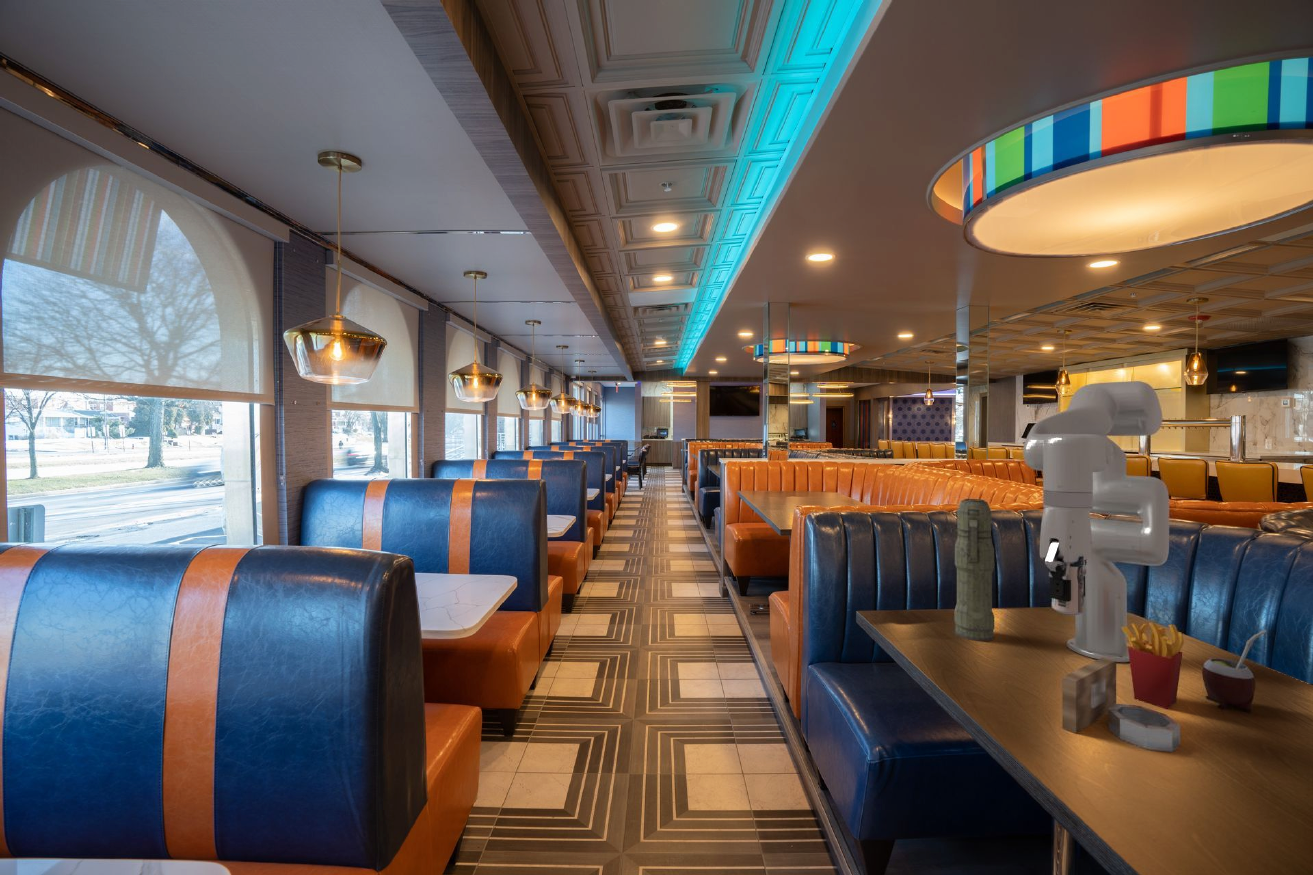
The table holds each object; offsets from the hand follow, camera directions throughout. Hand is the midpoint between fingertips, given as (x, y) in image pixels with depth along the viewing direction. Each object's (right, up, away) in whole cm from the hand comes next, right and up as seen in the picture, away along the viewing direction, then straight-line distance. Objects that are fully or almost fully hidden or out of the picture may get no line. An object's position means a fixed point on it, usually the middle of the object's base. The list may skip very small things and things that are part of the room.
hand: (1067, 596), depth 103 cm
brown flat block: (+2, -21, -3) cm, 22 cm away
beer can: (0, -3, 0) cm, 3 cm away
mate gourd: (+32, -21, +2) cm, 39 cm away
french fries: (+20, -21, +5) cm, 30 cm away
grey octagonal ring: (+6, -21, -10) cm, 24 cm away
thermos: (+5, -21, +39) cm, 45 cm away
